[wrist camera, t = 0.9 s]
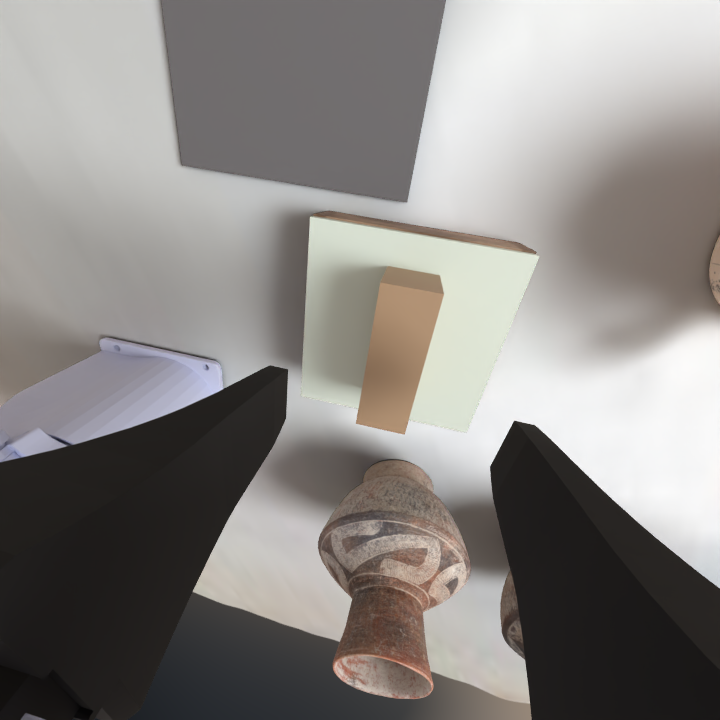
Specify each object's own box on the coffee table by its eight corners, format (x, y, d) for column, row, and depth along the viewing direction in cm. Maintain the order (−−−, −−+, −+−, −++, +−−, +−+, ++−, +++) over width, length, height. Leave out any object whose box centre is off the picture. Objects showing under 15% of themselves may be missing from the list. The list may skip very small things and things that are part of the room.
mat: (186, 165, 17) (181, 165, 16) (138, -240, 11) (129, -255, 10) (407, 202, 16) (406, 201, 15) (488, -222, 10) (491, -237, 9)
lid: (307, 385, 20) (281, 429, 16) (317, 215, 15) (284, 222, 11) (463, 419, 19) (474, 473, 15) (530, 251, 14) (569, 272, 10)
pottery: (362, 414, 23) (314, 599, 12) (674, 533, 23) (879, 808, 13) (323, 502, 28) (268, 679, 18) (574, 596, 29) (660, 823, 18)
